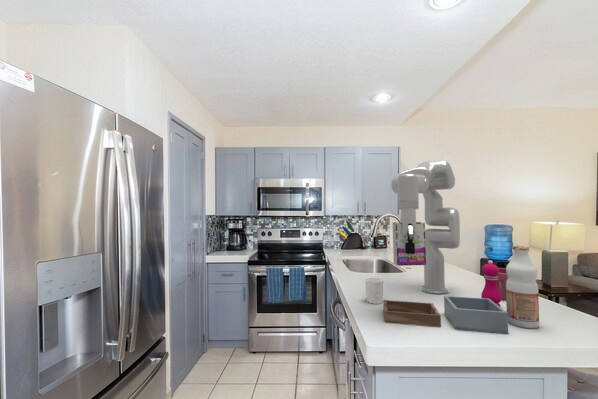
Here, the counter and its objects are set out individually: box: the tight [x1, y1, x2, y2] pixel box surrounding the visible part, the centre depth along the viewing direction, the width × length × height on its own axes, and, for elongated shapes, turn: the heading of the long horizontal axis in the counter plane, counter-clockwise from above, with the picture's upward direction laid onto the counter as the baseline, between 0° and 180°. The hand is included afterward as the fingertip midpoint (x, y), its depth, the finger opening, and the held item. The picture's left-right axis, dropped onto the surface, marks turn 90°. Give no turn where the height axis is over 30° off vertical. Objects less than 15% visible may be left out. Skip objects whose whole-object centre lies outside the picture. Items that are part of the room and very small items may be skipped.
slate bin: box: [443, 295, 509, 335], centre depth 108 cm, size 16×16×7 cm
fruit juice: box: [505, 245, 540, 329], centre depth 107 cm, size 9×9×28 cm
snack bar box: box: [392, 221, 426, 266], centre depth 114 cm, size 11×5×16 cm, turn 90°
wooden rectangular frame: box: [382, 299, 442, 328], centre depth 113 cm, size 14×19×4 cm
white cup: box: [364, 277, 384, 305], centre depth 133 cm, size 8×8×10 cm
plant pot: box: [497, 267, 508, 301], centre depth 138 cm, size 14×14×13 cm
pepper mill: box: [480, 259, 503, 307], centre depth 124 cm, size 7×7×20 cm
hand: (409, 251), depth 114 cm, fingers closed on snack bar box, 5 cm apart
